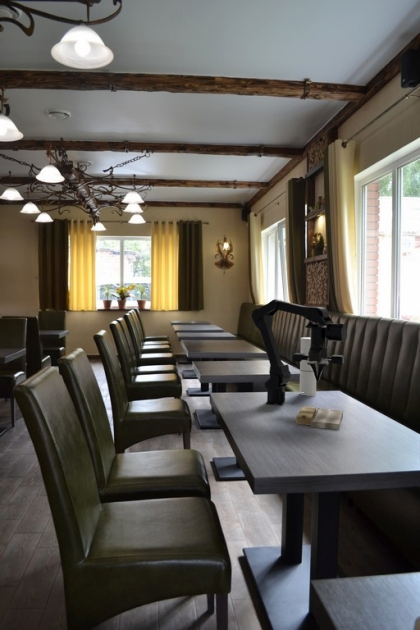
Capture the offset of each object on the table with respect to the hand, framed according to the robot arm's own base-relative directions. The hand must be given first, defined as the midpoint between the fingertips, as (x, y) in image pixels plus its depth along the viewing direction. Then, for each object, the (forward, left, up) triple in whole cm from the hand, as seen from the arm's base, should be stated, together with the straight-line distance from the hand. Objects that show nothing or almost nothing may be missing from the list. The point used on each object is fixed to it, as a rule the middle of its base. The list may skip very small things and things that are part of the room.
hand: (317, 381), depth 180 cm
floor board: (+5, -14, -11) cm, 19 cm away
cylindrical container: (-7, +28, -11) cm, 31 cm away
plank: (-2, -15, -11) cm, 19 cm away
